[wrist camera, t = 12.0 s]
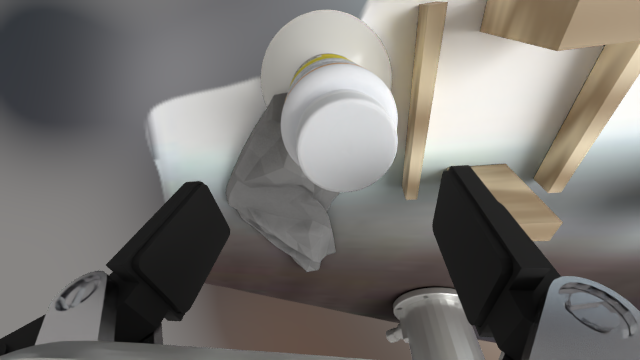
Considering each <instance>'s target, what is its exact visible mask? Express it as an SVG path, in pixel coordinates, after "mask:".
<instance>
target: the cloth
mask: <svg viewBox="0 0 640 360" xmlns="http://www.w3.org/2000/svg"><path fill="white" fill-rule="evenodd" d="M287 93H288V92H287ZM287 93H282V94H276V95H274V96H273V97H272V99H271V101H270V103H269V105H268V107H267V109H266V111H265V112H264V114H263V115H262V117H261V118H260V120H259V122H258V123H257V125H256V126H255V128H254V130H253V131H252V133H251V135H250V137H249V139H248V141H247V142H246V144H245V146H244V148H243V150H242V152H241V154H240V156H239V158H238V161H237V163H236V165H235V167H234V170H233V172H232V174H231V177H230V179H229V182H228V185H227V189H226V196H227V201H228V204H229V206H231V207H233V208H235V209H237V210H238V212H239V214H240V216H241V218H242V219H243V220H244V221H246V222H247V223H248V224H250V225H251V226H252V227H254V228H255V229H256V230H258V231H259V232H260V233H261V234H262V235H263V236H265V237H266V238H267V239H268V240H269V241H270V242H272V243H273V244H274V245H275V246H276V247H277V248H279V249H281V250H282V251H284V252H286V253H287V254H289V255H291V257H292V258H293V259H294V260H295V262H296V263H298V264H299V265H300V266H301V267H302V268H304V269H305V270H306V272H308V271H314V270H318V269H319V267H320V264H321V260H322V259H323V258H324V257H325V256H326V255H328V254H332V253H336V252H335V244H334V237H333V233H332V229H331V224H330V219H329V217H328V215H327V211H328V209H329V207H330V205H331V202H332V201H333V200H334V199H335V198H336V196H337V195H338V194H339V193H340V192H334V191H329V190H326V189H323V188H321V187H319V186H317V185H315V184H314V183H313V182H312V181H310V180H309V179H308V178H307V176H306V175H305V174H304V173H303V171H302V169H301V167H300V166H298V165H297V164H296V163H295V162H294V160H293V159H292V158H291V156H290V155H289V153H288V152H287V150H286V148H285V145H284V142H283V139H282V134H281V115H282V109H283V106H284V103H285V99H286V96H287Z"/></svg>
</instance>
